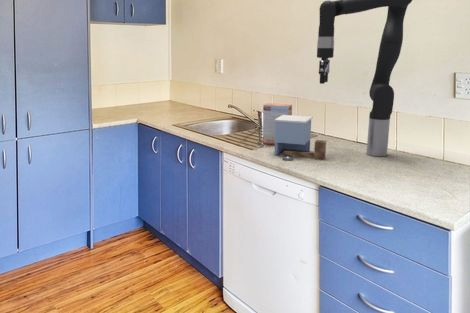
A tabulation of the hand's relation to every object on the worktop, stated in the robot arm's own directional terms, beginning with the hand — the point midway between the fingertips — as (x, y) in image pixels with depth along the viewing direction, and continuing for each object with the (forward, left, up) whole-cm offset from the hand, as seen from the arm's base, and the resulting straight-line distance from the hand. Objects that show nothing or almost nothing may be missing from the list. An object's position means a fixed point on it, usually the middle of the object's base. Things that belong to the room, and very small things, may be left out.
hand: (323, 82), depth 202 cm
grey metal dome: (+11, +20, -33) cm, 41 cm away
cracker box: (+24, -8, -33) cm, 42 cm away
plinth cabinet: (+12, +7, -33) cm, 36 cm away
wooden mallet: (+5, +13, -33) cm, 36 cm away
